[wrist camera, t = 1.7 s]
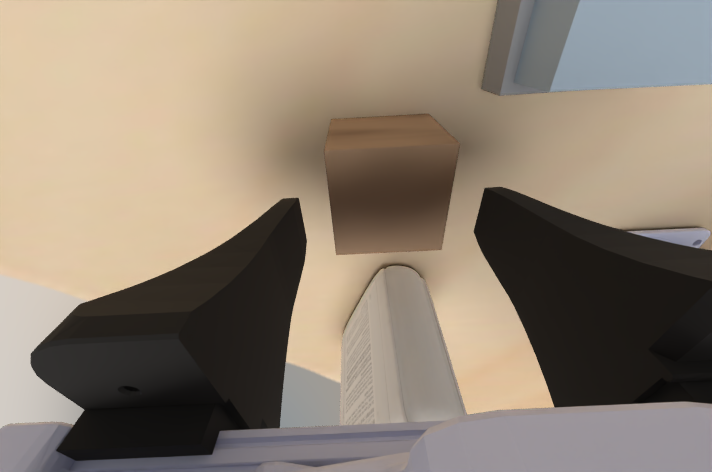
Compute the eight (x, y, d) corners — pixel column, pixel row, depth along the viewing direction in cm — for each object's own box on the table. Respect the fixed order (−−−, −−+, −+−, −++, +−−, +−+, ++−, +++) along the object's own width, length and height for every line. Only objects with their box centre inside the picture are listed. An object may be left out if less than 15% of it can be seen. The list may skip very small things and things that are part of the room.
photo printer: (379, 345, 26) (397, 537, 16) (336, 337, 25) (327, 535, 15) (432, 270, 20) (511, 493, 10) (379, 256, 20) (411, 485, 9)
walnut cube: (419, 199, 17) (441, 249, 13) (339, 203, 17) (336, 254, 13) (428, 113, 14) (459, 143, 10) (331, 118, 14) (324, 150, 10)
